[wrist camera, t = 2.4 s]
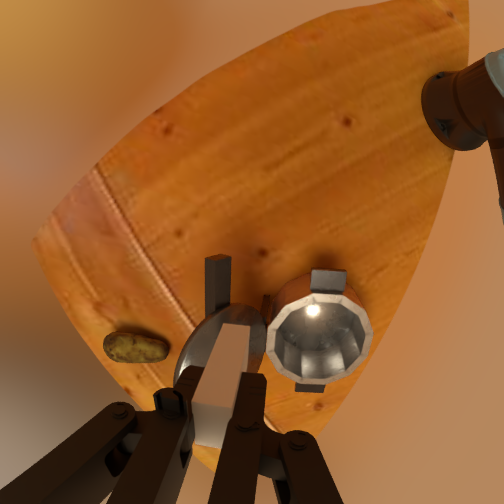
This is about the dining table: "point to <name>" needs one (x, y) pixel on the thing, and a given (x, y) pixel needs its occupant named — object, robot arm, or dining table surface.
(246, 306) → the lid
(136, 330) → the dining table surface
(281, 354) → the pot
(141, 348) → the potato
